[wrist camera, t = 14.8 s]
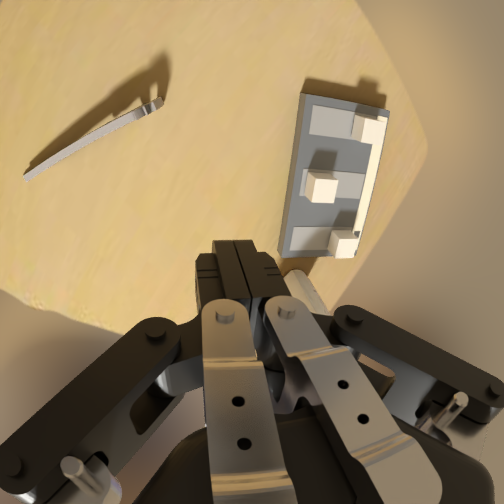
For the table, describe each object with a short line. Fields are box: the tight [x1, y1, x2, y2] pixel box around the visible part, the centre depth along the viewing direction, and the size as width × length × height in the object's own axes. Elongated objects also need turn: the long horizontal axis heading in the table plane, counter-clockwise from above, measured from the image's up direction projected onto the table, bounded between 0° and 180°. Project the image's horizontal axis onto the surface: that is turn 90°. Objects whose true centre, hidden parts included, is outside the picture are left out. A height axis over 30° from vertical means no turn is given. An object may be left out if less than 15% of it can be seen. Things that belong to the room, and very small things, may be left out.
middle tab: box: [304, 172, 338, 203], centre depth 38 cm, size 3×3×2 cm
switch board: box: [277, 93, 390, 258], centre depth 41 cm, size 22×12×2 cm, turn 174°
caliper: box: [23, 96, 164, 182], centre depth 30 cm, size 20×1×6 cm, turn 109°
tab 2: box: [351, 115, 386, 146], centre depth 35 cm, size 3×3×2 cm
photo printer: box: [283, 270, 331, 316], centre depth 45 cm, size 10×4×12 cm, turn 145°
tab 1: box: [328, 230, 358, 258], centre depth 43 cm, size 3×3×2 cm
